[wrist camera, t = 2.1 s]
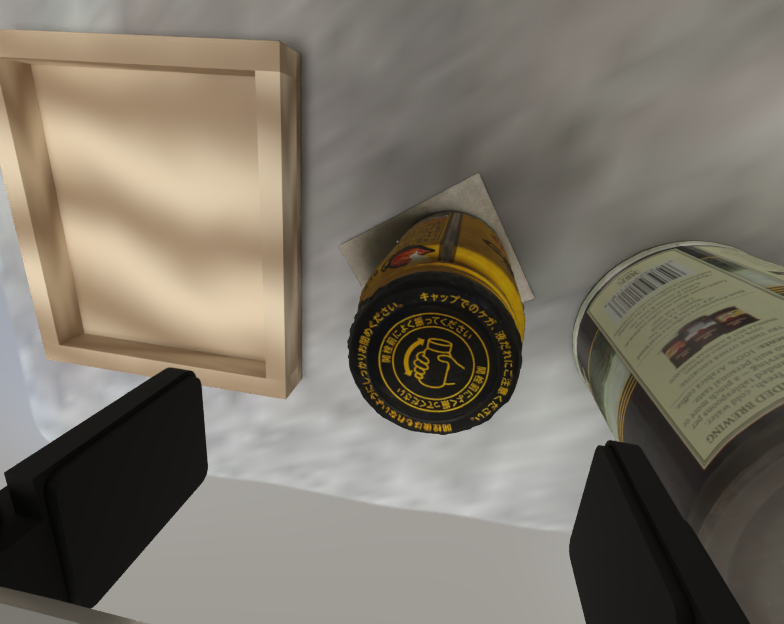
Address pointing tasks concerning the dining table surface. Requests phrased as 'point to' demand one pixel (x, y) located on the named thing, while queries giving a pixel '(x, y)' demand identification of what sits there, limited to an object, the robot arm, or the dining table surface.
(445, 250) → the condiment
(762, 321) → the coffee can
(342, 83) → the dining table surface
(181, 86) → the tray
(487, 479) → the dining table surface
